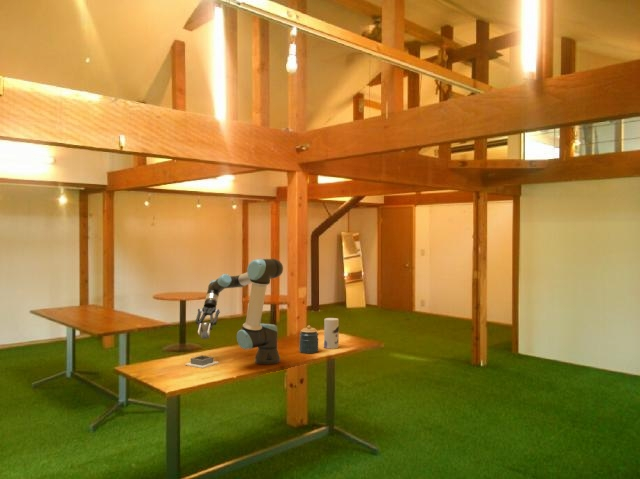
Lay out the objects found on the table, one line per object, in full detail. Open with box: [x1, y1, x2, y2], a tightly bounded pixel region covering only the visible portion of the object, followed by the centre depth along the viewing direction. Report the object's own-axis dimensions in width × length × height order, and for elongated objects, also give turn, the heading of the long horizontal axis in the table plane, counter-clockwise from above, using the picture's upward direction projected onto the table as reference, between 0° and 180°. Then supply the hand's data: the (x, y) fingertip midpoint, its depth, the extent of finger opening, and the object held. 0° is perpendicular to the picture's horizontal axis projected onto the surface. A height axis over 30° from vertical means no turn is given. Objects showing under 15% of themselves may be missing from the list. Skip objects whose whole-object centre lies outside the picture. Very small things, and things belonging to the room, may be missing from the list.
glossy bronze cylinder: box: [200, 321, 210, 340], centre depth 288 cm, size 5×5×9 cm
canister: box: [298, 324, 319, 355], centre depth 320 cm, size 13×13×18 cm
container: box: [323, 317, 340, 350], centre depth 333 cm, size 10×10×20 cm
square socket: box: [184, 354, 220, 369], centre depth 286 cm, size 14×14×4 cm
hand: (203, 333), depth 284 cm, fingers closed on glossy bronze cylinder, 5 cm apart
